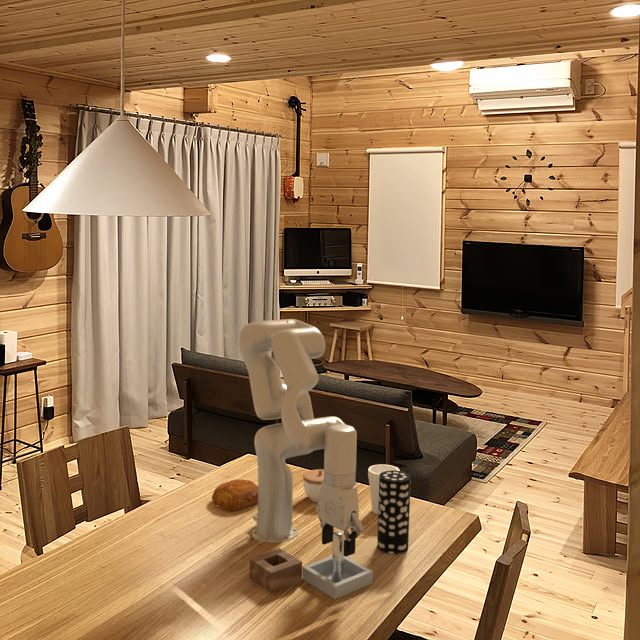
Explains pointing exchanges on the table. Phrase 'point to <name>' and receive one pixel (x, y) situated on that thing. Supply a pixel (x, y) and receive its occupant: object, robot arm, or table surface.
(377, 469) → the foam cup
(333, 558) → the steel pin
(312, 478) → the lidded jar
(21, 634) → the table surface
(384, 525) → the spotted tube
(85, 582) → the table surface
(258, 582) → the socket block
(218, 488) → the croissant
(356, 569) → the tray
